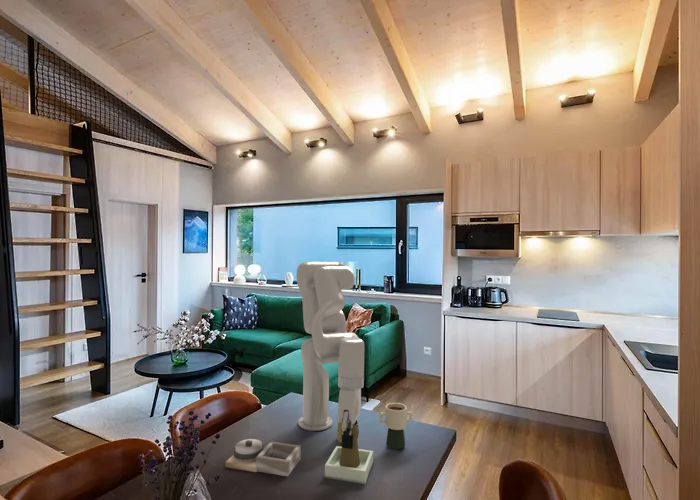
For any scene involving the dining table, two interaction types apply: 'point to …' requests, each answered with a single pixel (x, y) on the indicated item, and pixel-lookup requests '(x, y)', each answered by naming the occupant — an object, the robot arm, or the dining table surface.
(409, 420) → the cream green cup
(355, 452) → the cork
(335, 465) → the tray
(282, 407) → the dining table surface
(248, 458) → the desk organizer
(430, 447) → the dining table surface
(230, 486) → the dining table surface
